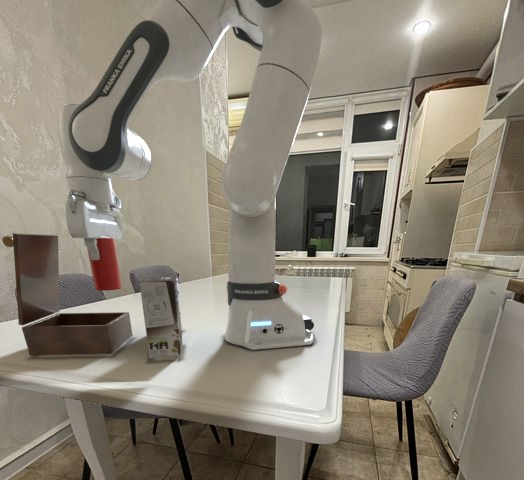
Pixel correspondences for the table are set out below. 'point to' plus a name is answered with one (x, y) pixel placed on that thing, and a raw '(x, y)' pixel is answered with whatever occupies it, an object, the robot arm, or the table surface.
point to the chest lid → (35, 275)
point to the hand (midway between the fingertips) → (103, 259)
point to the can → (106, 266)
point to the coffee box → (162, 316)
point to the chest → (78, 333)
